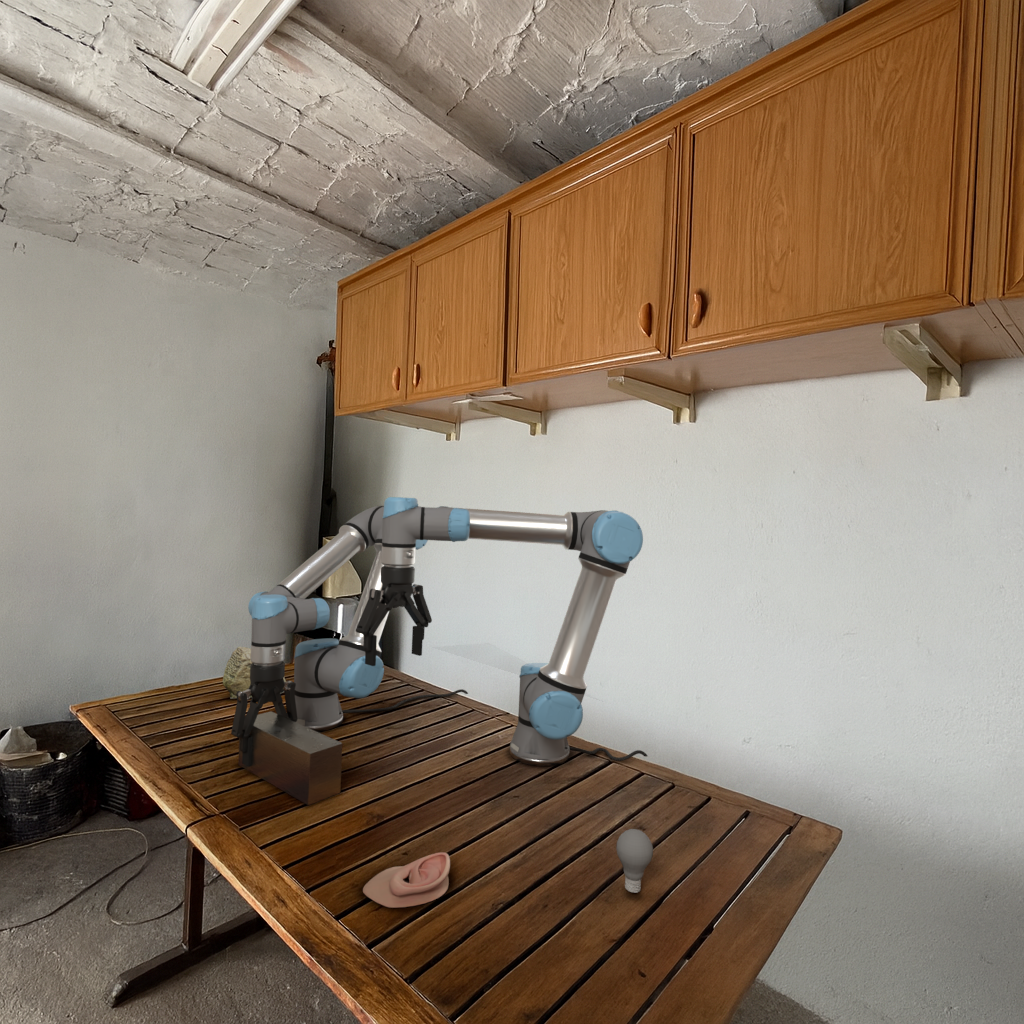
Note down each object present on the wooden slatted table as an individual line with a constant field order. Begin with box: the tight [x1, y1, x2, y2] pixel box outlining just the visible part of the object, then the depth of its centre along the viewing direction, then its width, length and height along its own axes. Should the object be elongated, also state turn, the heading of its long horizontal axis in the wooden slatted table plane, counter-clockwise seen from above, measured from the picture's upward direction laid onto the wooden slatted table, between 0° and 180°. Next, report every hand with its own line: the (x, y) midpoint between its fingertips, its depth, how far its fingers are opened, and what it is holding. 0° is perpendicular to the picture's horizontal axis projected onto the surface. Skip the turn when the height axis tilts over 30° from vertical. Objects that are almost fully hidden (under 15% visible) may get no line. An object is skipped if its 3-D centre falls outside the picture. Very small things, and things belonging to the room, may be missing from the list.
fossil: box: [222, 646, 287, 699], centre depth 198 cm, size 9×18×15 cm, turn 132°
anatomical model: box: [362, 851, 451, 909], centre depth 104 cm, size 13×4×12 cm
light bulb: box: [615, 828, 654, 894], centre depth 106 cm, size 6×6×10 cm
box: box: [237, 711, 343, 806], centre depth 142 cm, size 28×8×11 cm, turn 51°
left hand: (264, 758), depth 148 cm, fingers closed on box, 8 cm apart
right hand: (394, 659), depth 143 cm, fingers open, 13 cm apart
